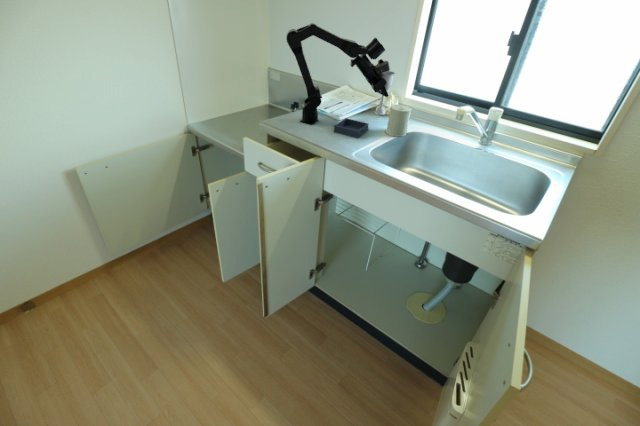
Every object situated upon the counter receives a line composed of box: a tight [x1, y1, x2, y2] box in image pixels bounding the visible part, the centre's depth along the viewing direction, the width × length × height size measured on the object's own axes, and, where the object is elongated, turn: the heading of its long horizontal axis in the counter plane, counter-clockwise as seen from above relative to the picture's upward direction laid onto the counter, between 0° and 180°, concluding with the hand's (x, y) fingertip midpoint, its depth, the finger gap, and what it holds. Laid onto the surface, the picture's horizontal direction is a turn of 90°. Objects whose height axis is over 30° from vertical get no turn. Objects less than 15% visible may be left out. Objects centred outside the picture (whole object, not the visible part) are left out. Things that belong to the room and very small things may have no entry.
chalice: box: [374, 70, 396, 116], centre depth 150 cm, size 7×7×18 cm
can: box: [385, 104, 412, 138], centre depth 145 cm, size 9×9×12 cm
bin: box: [333, 117, 370, 139], centre depth 147 cm, size 12×12×3 cm
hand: (386, 94), depth 150 cm, fingers closed on chalice, 6 cm apart
